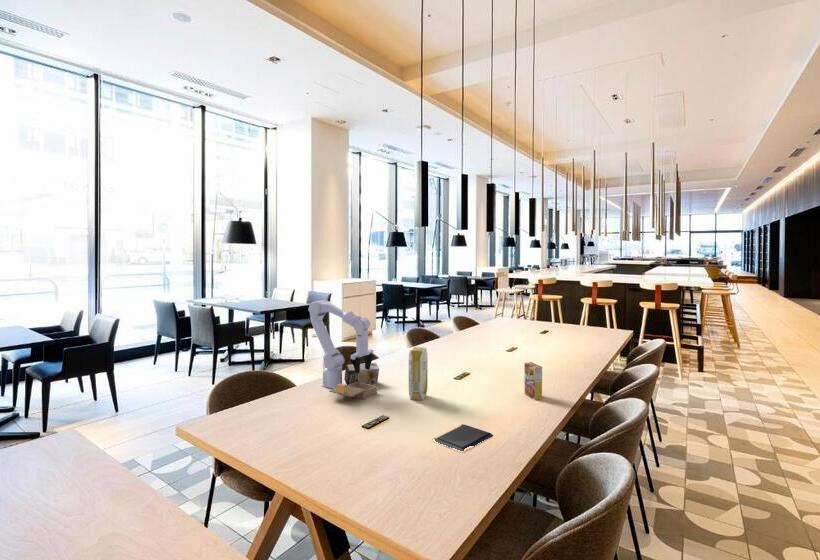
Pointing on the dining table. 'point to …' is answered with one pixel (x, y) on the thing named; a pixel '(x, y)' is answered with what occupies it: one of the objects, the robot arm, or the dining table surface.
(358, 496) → the dining table surface
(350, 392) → the lid
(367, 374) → the coffee box
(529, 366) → the candy box
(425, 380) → the juice carton
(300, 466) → the dining table surface
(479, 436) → the wallet
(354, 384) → the carton
